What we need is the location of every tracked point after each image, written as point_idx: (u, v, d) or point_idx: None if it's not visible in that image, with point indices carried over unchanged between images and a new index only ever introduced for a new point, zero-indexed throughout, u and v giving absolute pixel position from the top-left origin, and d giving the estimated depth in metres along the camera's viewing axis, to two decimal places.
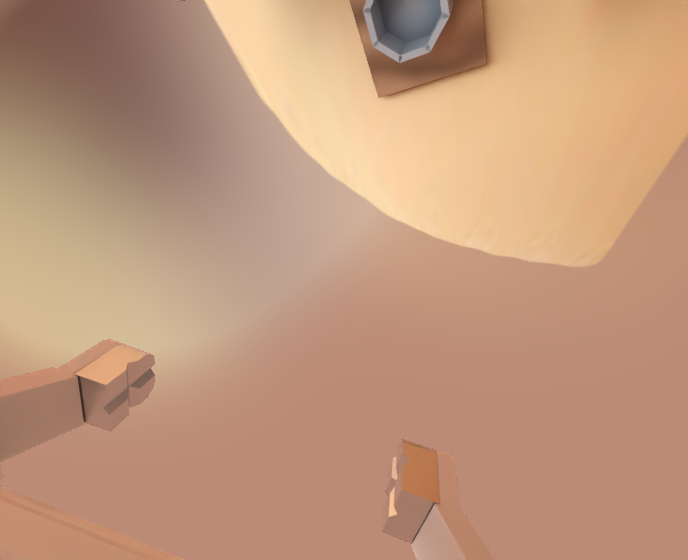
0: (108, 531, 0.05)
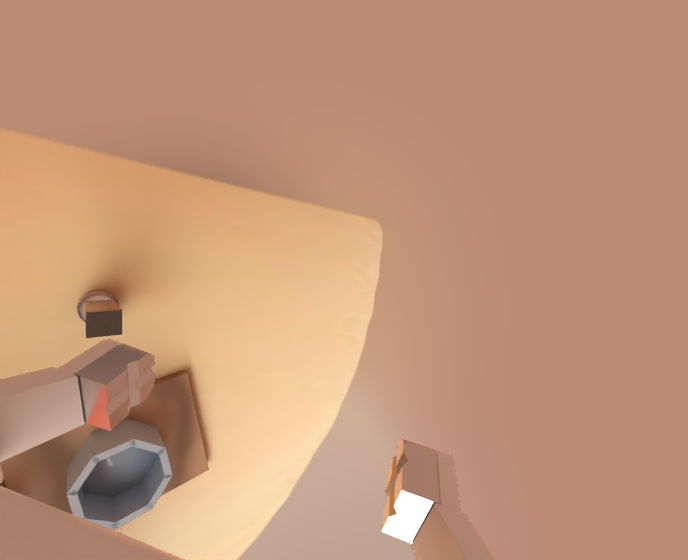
0: (108, 531, 0.05)
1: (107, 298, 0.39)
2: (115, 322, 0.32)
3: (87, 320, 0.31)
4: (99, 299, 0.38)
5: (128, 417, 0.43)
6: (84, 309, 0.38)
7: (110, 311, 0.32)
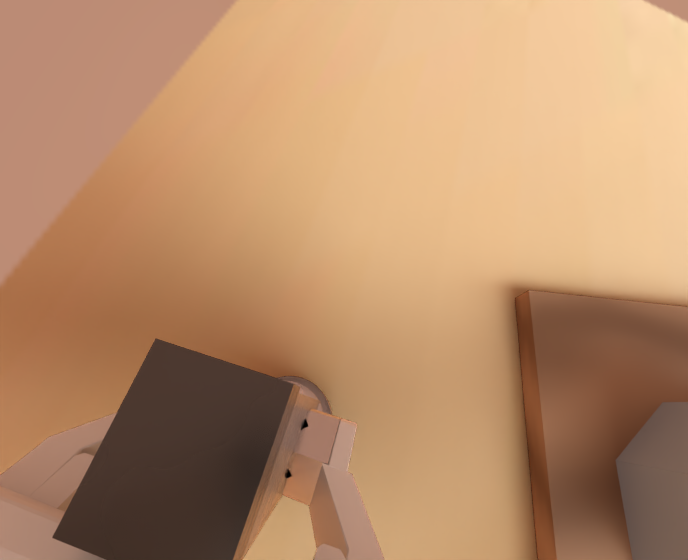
0: None
1: None
2: (207, 395, 0.05)
3: (108, 547, 0.04)
4: None
5: (612, 457, 0.15)
6: None
7: (133, 396, 0.05)
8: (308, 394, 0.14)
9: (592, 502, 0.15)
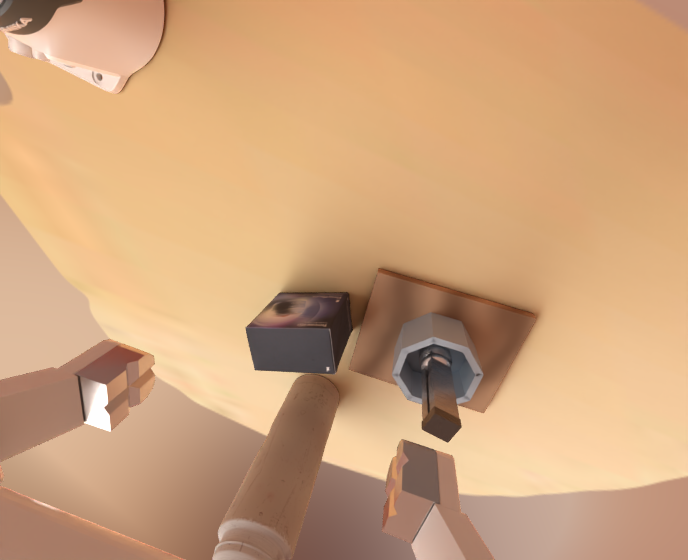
0: (108, 531, 0.05)
1: (447, 364, 0.39)
2: (449, 432, 0.31)
3: (431, 419, 0.31)
4: (441, 361, 0.39)
5: (462, 320, 0.42)
6: (426, 362, 0.39)
7: (452, 422, 0.31)
8: None
9: (451, 308, 0.41)
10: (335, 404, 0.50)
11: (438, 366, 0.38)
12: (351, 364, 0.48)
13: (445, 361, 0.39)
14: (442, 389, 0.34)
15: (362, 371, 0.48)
